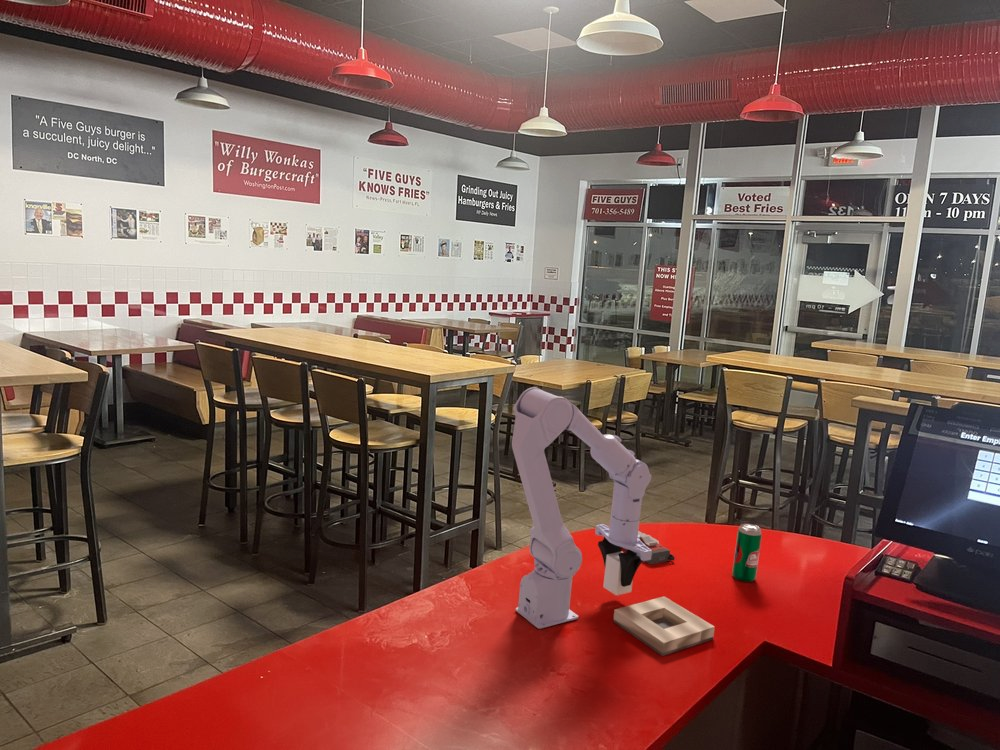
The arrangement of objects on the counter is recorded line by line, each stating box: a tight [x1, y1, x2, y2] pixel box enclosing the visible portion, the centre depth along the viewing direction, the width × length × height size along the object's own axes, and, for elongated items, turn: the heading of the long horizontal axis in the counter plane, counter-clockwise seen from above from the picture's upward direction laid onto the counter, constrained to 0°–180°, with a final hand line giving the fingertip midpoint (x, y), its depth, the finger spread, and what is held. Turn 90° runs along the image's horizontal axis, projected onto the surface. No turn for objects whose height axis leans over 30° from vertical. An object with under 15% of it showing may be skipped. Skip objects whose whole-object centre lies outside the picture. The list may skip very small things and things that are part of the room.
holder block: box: [613, 596, 715, 657], centre depth 135 cm, size 13×13×2 cm
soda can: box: [731, 523, 763, 583], centre depth 160 cm, size 5×5×12 cm
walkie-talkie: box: [638, 530, 675, 565], centre depth 174 cm, size 9×4×20 cm
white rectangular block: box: [603, 551, 634, 596], centre depth 145 cm, size 4×4×7 cm
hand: (618, 580), depth 145 cm, fingers closed on white rectangular block, 4 cm apart
